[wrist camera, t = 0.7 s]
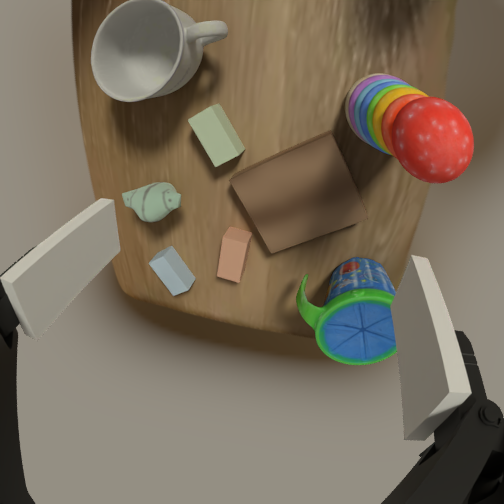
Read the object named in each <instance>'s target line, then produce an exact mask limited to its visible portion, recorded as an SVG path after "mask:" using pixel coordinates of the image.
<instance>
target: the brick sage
mask: <svg viewBox="0 0 504 504" xmlns="http://www.w3.org/2000/svg"><path fill="white" fill-rule="evenodd" d="M188 121H189V123H190V125H191V126H192V128H193V130H194V132H195V133H196V135H197V137H198V138H199V140H200V142H201V143H202V145H203V147H204V149H205V150H206V152H207V154H208V155H209V157H210V159H211V161H212V162H213V164H214V166H215V167H217V166H219V165H221V164H223V163H225V162H227V161H229V160H230V159H232V158H234V157H236V156H238V155H240V154H241V153H242V152H243V151H244V150H245V148H244V146H243V144H242V142H241V141H240V139H239V137H238V135H237V134H236V132H235V130H234V128H233V126H232V125H231V123H230V121H229V119H228V118H227V116H226V114H225V113H224V111H223V109H222V107H221V106H220V104H216V105H213V106H210V107H209V108H207V109H205V110H204V111H202V112H200V113H199V114H197V115H195V116H194V117H192V118H190V119H189V120H188Z"/></svg>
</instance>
